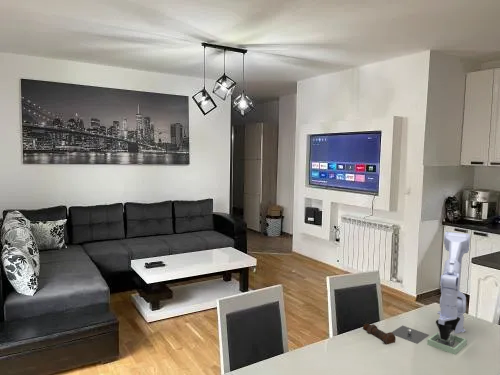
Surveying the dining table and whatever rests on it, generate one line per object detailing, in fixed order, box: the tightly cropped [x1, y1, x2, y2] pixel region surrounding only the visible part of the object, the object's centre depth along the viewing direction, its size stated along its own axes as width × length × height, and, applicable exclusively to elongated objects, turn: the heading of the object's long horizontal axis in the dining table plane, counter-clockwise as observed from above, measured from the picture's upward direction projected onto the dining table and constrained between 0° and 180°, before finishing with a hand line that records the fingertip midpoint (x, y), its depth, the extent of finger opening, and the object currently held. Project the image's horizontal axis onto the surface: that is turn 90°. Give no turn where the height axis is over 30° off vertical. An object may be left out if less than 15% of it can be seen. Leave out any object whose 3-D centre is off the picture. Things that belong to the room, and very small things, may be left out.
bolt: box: [362, 323, 396, 345], centre depth 155 cm, size 6×5×15 cm
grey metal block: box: [437, 329, 455, 347], centre depth 148 cm, size 4×4×6 cm
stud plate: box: [391, 325, 430, 345], centre depth 157 cm, size 12×12×3 cm
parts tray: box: [426, 330, 468, 355], centre depth 148 cm, size 12×10×3 cm
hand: (447, 336), depth 148 cm, fingers open, 6 cm apart
